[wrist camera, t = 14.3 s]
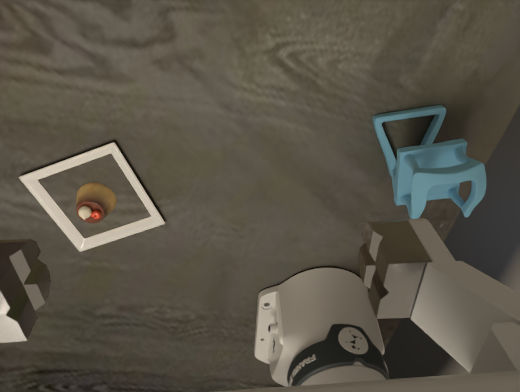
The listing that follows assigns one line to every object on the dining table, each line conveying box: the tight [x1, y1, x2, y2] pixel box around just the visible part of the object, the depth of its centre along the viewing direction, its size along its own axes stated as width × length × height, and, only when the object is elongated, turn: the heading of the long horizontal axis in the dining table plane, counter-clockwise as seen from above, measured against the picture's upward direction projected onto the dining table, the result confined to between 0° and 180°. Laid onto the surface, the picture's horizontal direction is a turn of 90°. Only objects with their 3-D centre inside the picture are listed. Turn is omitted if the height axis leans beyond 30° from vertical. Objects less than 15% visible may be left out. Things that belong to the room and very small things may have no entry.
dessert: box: [19, 142, 165, 252], centre depth 47 cm, size 12×12×5 cm
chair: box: [373, 105, 486, 219], centre depth 42 cm, size 8×8×12 cm
